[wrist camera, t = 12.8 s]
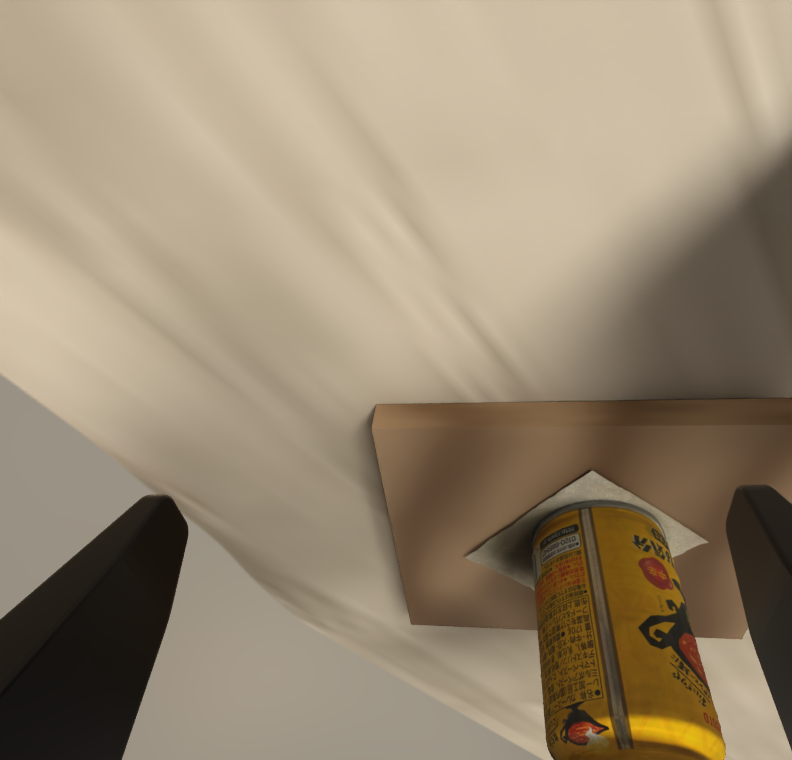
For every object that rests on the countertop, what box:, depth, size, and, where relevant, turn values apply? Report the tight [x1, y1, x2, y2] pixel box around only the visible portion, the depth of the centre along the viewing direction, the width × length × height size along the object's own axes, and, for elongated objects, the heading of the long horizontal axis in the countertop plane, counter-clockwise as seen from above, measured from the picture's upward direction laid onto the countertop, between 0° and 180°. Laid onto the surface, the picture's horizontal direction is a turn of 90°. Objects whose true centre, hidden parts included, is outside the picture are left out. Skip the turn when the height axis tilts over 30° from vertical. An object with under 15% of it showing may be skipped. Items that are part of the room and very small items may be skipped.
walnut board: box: [372, 398, 792, 639], centre depth 29 cm, size 18×16×2 cm
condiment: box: [465, 470, 726, 760], centre depth 24 cm, size 7×8×12 cm
